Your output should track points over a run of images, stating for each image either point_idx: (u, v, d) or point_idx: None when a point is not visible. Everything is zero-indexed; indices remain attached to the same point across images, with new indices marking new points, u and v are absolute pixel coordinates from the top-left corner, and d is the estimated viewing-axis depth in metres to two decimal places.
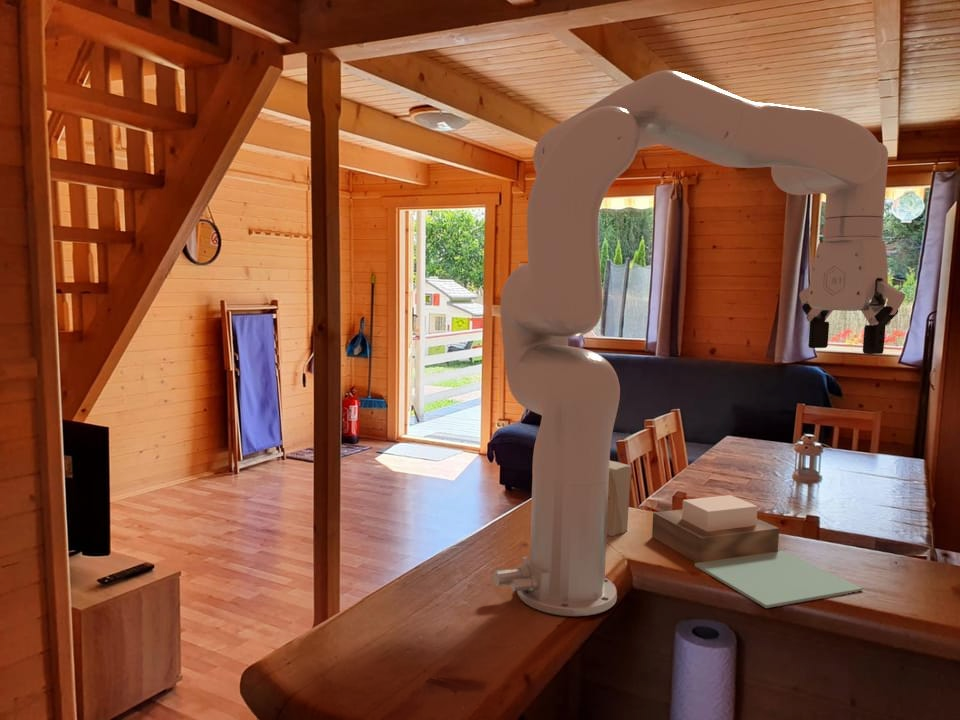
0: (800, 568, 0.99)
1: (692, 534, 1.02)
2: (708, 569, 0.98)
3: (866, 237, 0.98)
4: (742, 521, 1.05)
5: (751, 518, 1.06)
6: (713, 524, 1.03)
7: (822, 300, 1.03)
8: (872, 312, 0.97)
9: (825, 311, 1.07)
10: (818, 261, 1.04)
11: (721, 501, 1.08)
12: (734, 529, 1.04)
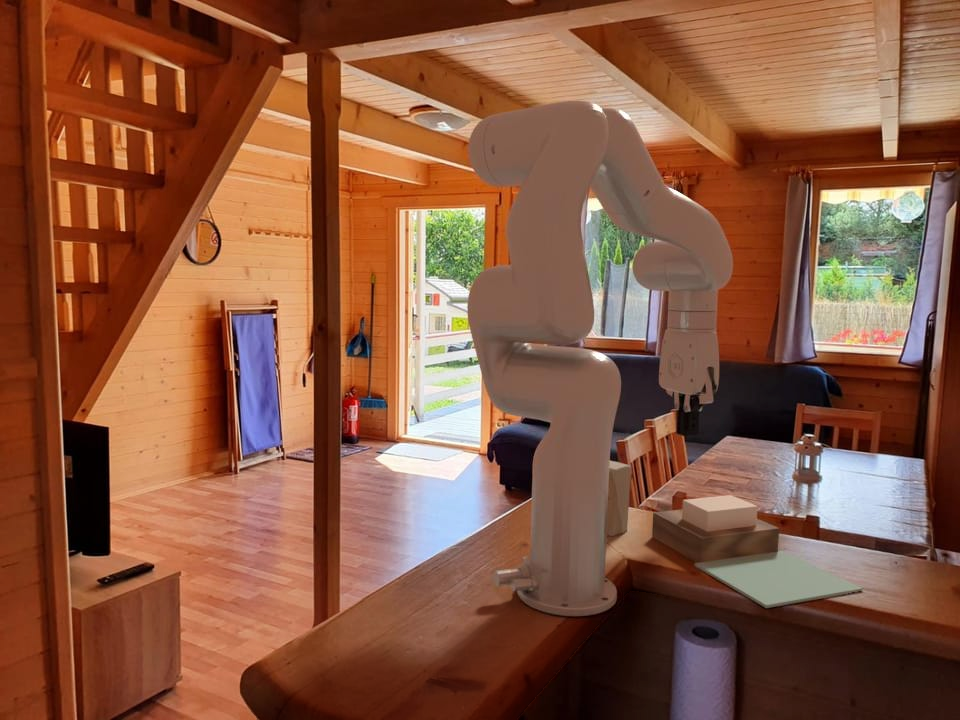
0: (800, 568, 0.99)
1: (692, 534, 1.02)
2: (708, 569, 0.98)
3: (699, 330, 1.09)
4: (742, 521, 1.05)
5: (751, 518, 1.06)
6: (713, 524, 1.03)
7: (667, 382, 1.15)
8: (689, 403, 1.12)
9: None
10: (664, 346, 1.16)
11: (721, 501, 1.08)
12: (734, 529, 1.04)
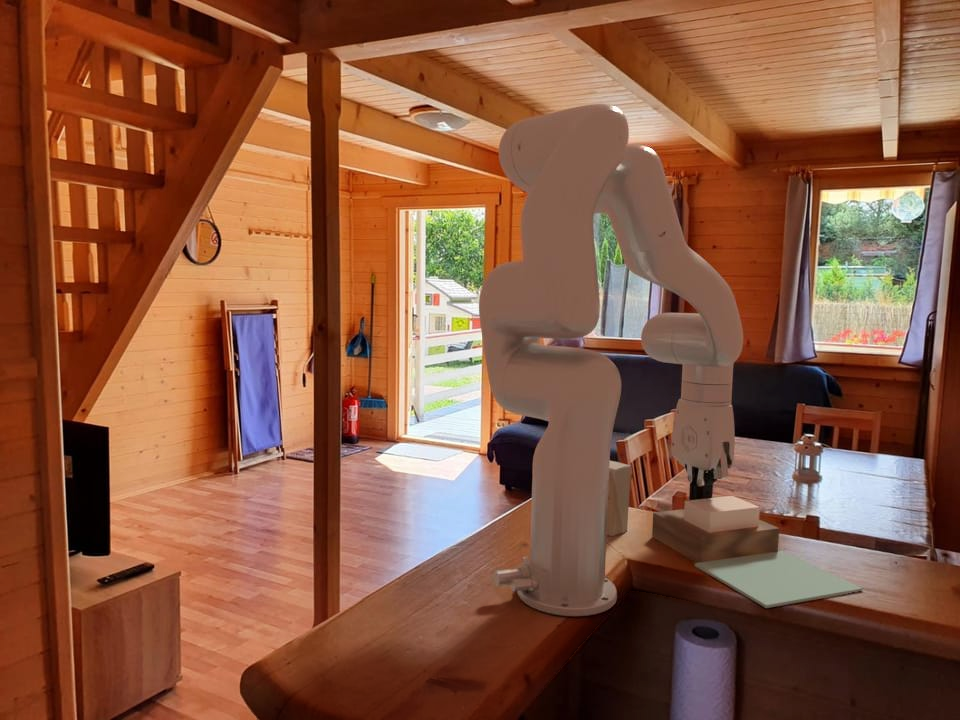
0: (800, 568, 0.99)
1: (692, 534, 1.02)
2: (708, 569, 0.98)
3: (714, 403, 1.06)
4: (744, 522, 1.05)
5: (753, 519, 1.05)
6: (715, 525, 1.03)
7: (680, 453, 1.11)
8: (703, 477, 1.09)
9: None
10: (677, 416, 1.12)
11: (723, 502, 1.08)
12: None
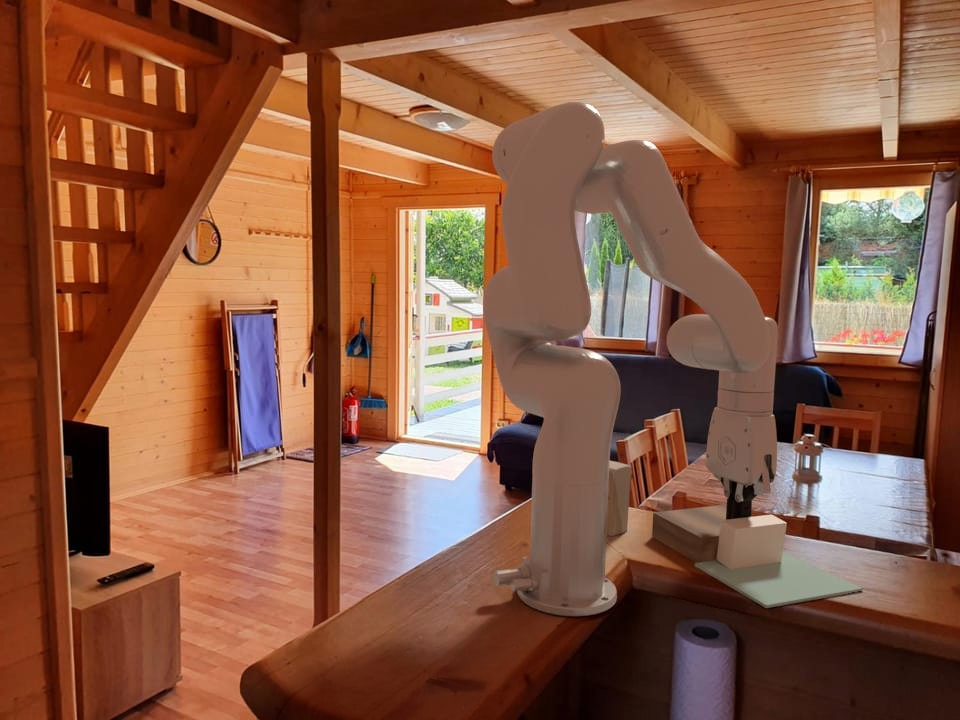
0: (800, 568, 0.99)
1: (692, 534, 1.02)
2: (708, 569, 0.98)
3: (755, 413, 0.98)
4: None
5: None
6: None
7: (717, 466, 1.03)
8: (742, 492, 1.01)
9: None
10: (713, 426, 1.04)
11: (763, 541, 1.00)
12: None
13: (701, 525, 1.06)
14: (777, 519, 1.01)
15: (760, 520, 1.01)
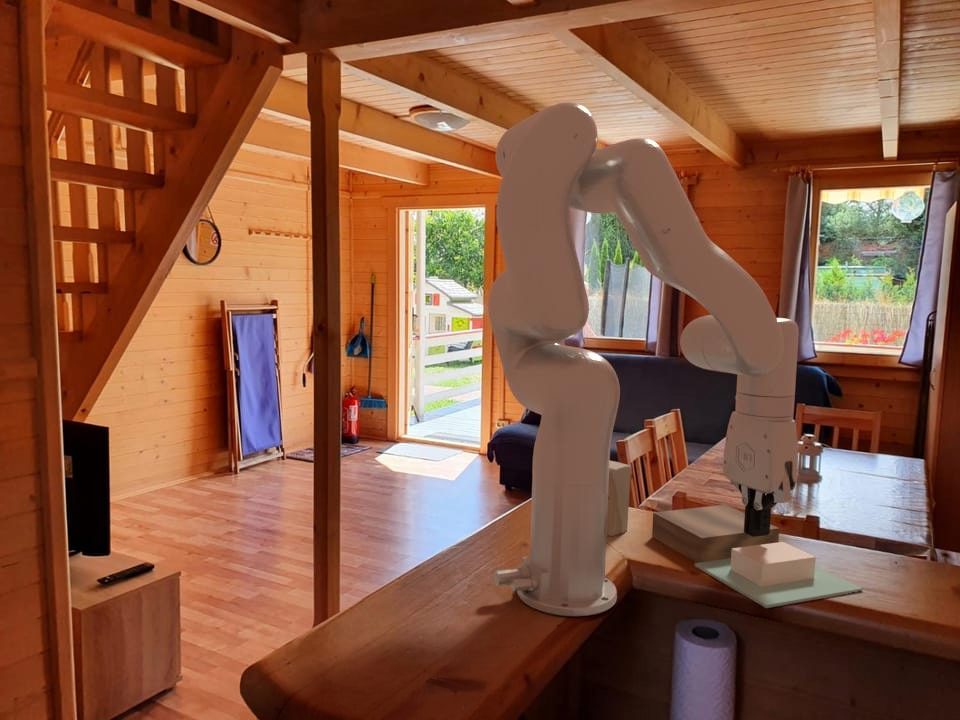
0: None
1: (692, 534, 1.02)
2: (708, 569, 0.98)
3: (775, 418, 0.94)
4: None
5: None
6: None
7: (734, 473, 1.00)
8: (762, 500, 0.97)
9: (756, 490, 1.01)
10: (731, 432, 1.01)
11: None
12: (734, 529, 1.04)
13: (701, 525, 1.06)
14: (812, 569, 0.96)
15: (796, 569, 0.95)
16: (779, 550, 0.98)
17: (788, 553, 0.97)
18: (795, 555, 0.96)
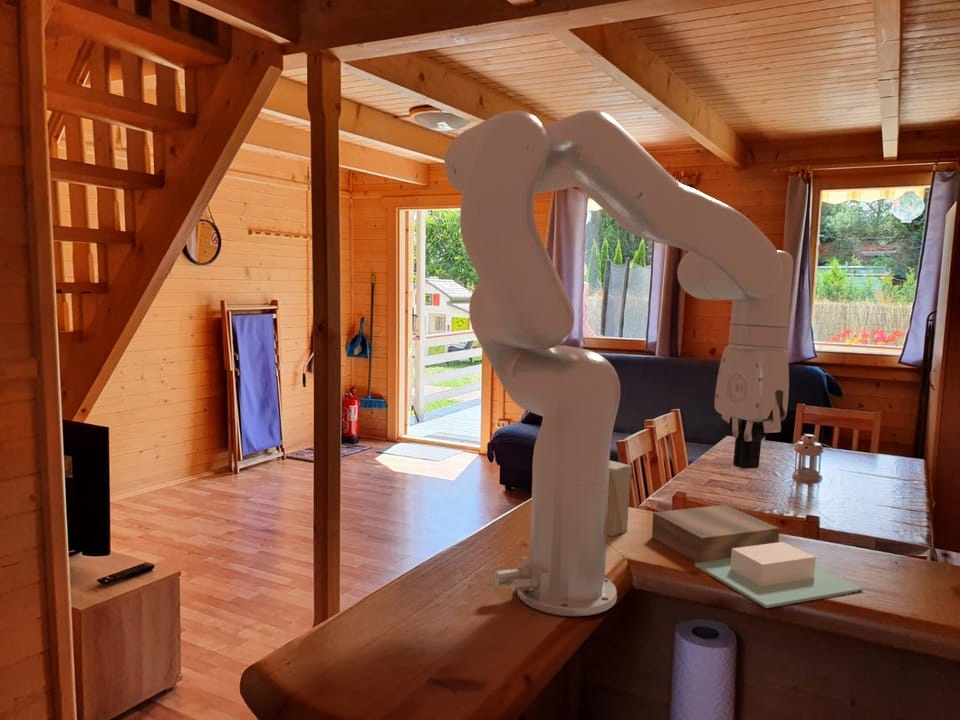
0: None
1: (692, 534, 1.02)
2: (708, 569, 0.98)
3: (767, 348, 0.95)
4: None
5: None
6: None
7: (726, 406, 1.01)
8: (752, 431, 0.98)
9: None
10: (723, 365, 1.01)
11: None
12: (734, 529, 1.04)
13: (701, 525, 1.06)
14: (812, 569, 0.96)
15: (796, 569, 0.95)
16: (779, 550, 0.98)
17: (788, 553, 0.97)
18: (795, 555, 0.96)
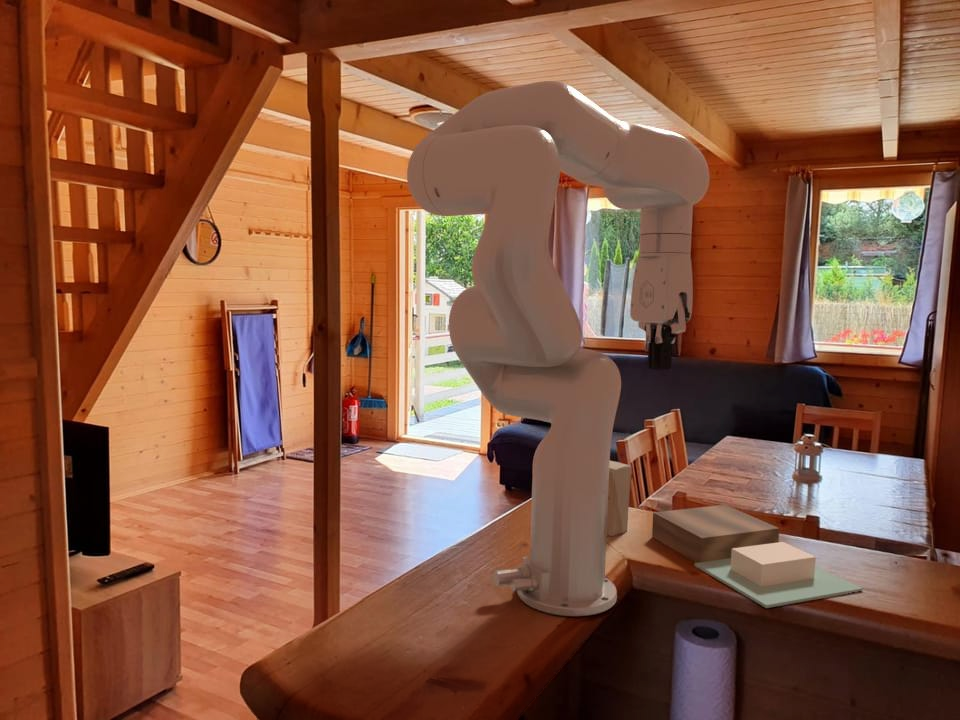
0: None
1: (692, 534, 1.02)
2: (708, 569, 0.98)
3: (671, 253, 1.02)
4: None
5: None
6: None
7: (638, 312, 1.08)
8: (661, 333, 1.05)
9: None
10: (636, 275, 1.09)
11: None
12: (734, 529, 1.04)
13: (701, 525, 1.06)
14: (812, 569, 0.96)
15: (796, 569, 0.95)
16: (779, 550, 0.98)
17: (788, 553, 0.97)
18: (795, 555, 0.96)
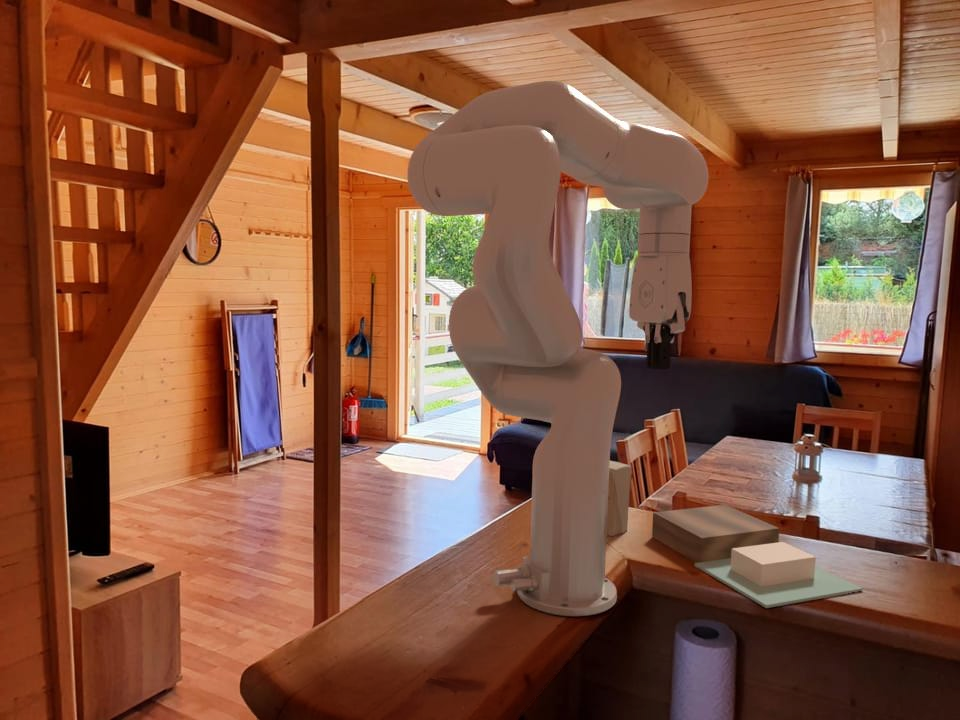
0: None
1: (692, 534, 1.02)
2: (708, 569, 0.98)
3: (670, 253, 1.02)
4: None
5: None
6: None
7: (637, 312, 1.08)
8: (660, 333, 1.05)
9: None
10: (635, 275, 1.09)
11: None
12: (734, 529, 1.04)
13: (701, 525, 1.06)
14: (812, 569, 0.96)
15: (796, 569, 0.95)
16: (779, 550, 0.98)
17: (788, 553, 0.97)
18: (795, 555, 0.96)
